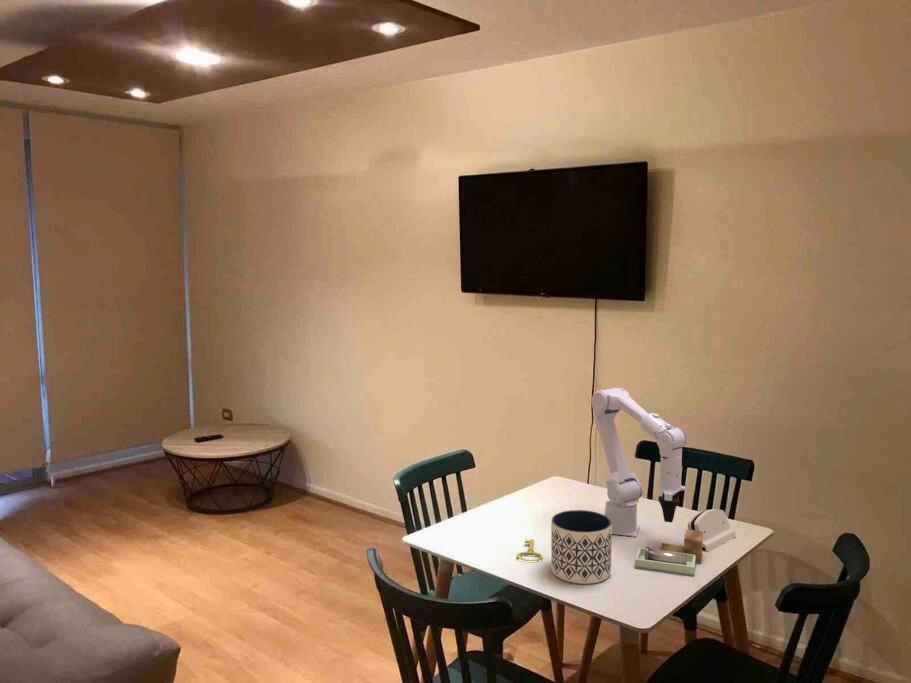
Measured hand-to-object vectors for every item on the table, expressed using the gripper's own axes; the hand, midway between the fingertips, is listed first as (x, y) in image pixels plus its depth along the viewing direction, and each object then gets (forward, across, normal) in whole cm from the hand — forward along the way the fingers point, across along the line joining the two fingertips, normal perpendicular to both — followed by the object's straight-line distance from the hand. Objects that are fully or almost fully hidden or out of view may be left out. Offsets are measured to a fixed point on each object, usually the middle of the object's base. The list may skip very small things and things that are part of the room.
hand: (669, 516), depth 207 cm
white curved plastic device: (+10, +11, -11) cm, 19 cm away
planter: (+10, -22, +21) cm, 32 cm away
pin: (+9, -11, 0) cm, 14 cm away
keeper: (+10, -3, -3) cm, 11 cm away
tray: (+10, -11, 0) cm, 15 cm away
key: (+11, -15, +37) cm, 41 cm away
